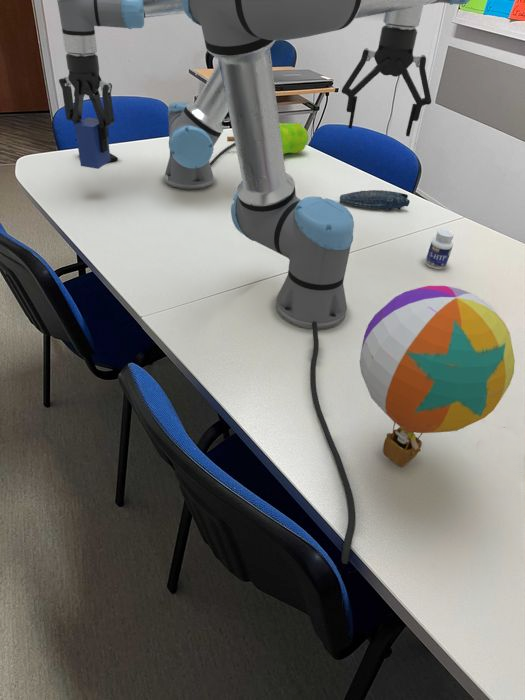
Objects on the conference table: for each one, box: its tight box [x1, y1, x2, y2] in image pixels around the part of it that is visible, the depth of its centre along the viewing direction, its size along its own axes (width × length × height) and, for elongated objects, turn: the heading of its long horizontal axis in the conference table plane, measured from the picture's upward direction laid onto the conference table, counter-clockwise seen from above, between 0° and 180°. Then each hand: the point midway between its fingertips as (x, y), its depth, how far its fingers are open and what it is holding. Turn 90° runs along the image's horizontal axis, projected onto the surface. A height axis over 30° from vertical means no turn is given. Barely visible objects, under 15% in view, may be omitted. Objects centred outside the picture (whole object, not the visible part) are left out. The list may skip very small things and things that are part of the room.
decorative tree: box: [226, 122, 309, 155], centre depth 188 cm, size 18×10×30 cm
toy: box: [359, 285, 516, 468], centre depth 73 cm, size 20×20×30 cm
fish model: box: [339, 189, 411, 211], centre depth 158 cm, size 7×21×5 cm, turn 84°
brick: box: [74, 117, 111, 170], centre depth 141 cm, size 5×7×11 cm
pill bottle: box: [424, 228, 455, 270], centre depth 130 cm, size 5×5×9 cm
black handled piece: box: [75, 138, 119, 163], centre depth 173 cm, size 12×7×10 cm
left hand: (94, 149), depth 142 cm, fingers closed on brick, 5 cm apart
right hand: (378, 131), depth 123 cm, fingers open, 13 cm apart
